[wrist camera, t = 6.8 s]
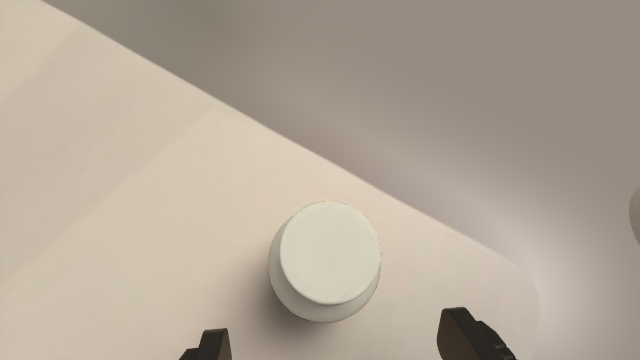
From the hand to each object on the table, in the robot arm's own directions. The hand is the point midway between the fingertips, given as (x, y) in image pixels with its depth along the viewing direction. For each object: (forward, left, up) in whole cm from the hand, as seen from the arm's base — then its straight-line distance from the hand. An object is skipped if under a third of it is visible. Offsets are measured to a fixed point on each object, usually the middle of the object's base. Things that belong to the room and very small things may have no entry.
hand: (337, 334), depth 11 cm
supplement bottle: (+1, -3, -9) cm, 9 cm away
